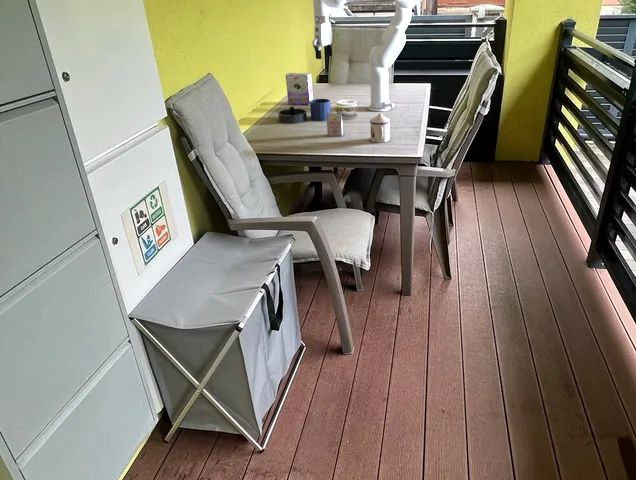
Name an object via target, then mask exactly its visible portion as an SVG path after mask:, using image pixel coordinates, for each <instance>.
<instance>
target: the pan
mask: <svg viewBox="0 0 636 480" xmlns="http://www.w3.org/2000/svg"><path fill="white" fill-rule="evenodd" d="M294 110H295V114H299V115H289V114H290V108H287V109H282V110H279V111H278V112H277V114H278V115H277V116H278V122H279V123H283V124H300V123H304V122H306V121H308V114H307V113H308V112H307V110H306V109H303V108H294Z"/></svg>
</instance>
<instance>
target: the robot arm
mask: <svg viewBox="0 0 636 480" xmlns="http://www.w3.org/2000/svg"><path fill="white" fill-rule="evenodd" d="M366 1H368V0H312V3H313V5H312V6H313V16H314V17H313V21H314V30H313V32H314V33H313V36H314V39H313V40H312V42H311V43H312V45H313V48H314V51H315V52H314V53H315V59H316V60H322V59H323V58H322V57H323V56H322V50H321V49H322V46H323V47H325V50H326V56H327V57H333V44H334V36H333V30H332V25H331V24H332V23H331V22H330V21H331V19H330V8H335V9H339V8H342V7H343V6H344V5H345V4H349V3H352V2H353V3H354V2H355V3H356V2H366ZM393 2H394V5H395V12H394V16H392V19H391V21H390V22H389V24H388V25H387V26H386V29H385V30H384V32H383V33H382V37H381V40H382V43H383V44H382V45H376V46H374V47H372V48H371V49H370V51H369V54H368V61H369V71H370V105H368V106H367V109H368V111H372V112H387V111H390V110H391V108H394V107H395V103H394V102H391V100H390V99H389V68H390V67H391V66H392V65H393V64H394V62H395V61H396V59H397V58H398V56H399V55H400V53H401V52H402V50H403V48H404V46H405V44H406V41H407V36H406V34H405V33H406V32H405V31H406V30H407V28H408V26H409V25H410V22H411V21H412V9H413V8H414V7H416V5H417V3H418V0H394V1H393Z"/></svg>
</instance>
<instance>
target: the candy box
mask: <svg viewBox="0 0 636 480" xmlns="http://www.w3.org/2000/svg"><path fill="white" fill-rule="evenodd" d="M285 83H286V84H285V85H286V92H287V93H286V94H287V103H288V105H294V106H295V105H296V106H297V105H298V106H310V101H311V100H314V93H313V81H312V73H307V72H289V73H285Z"/></svg>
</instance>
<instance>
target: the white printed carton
mask: <svg viewBox="0 0 636 480" xmlns="http://www.w3.org/2000/svg"><path fill="white" fill-rule="evenodd" d="M343 125H344V124H343V115H342V113H331V114H327V120H326V128H327V137H343V134H344V128H343Z"/></svg>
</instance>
